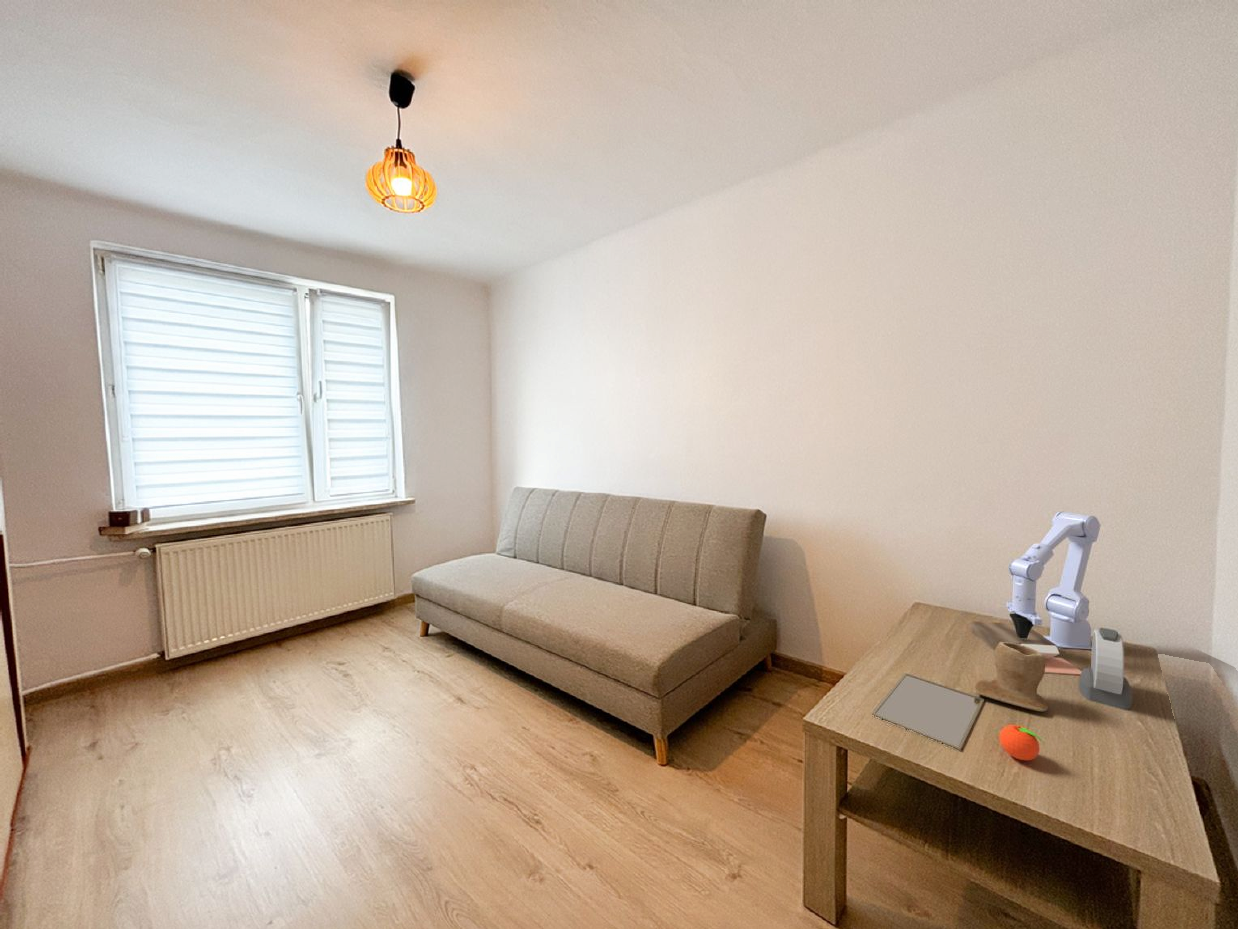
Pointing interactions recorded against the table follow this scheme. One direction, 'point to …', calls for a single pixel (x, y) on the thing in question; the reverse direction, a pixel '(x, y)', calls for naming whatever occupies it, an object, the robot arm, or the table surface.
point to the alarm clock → (1106, 672)
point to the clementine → (1019, 742)
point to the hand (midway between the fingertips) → (1022, 637)
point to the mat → (1060, 667)
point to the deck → (1005, 634)
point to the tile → (1044, 650)
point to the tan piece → (1016, 677)
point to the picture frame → (930, 710)
